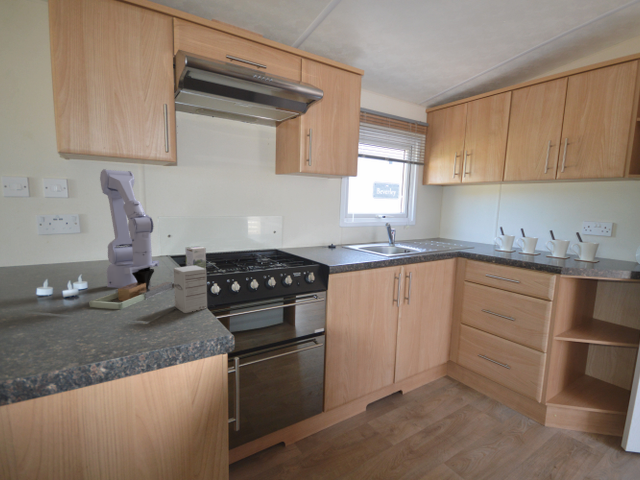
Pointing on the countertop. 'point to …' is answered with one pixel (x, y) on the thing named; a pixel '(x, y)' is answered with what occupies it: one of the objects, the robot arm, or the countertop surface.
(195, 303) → the supplement box
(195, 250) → the syrup box
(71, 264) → the countertop surface
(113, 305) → the tray
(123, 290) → the front copper block
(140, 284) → the rear copper block
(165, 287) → the aluminium slot
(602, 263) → the countertop surface
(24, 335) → the countertop surface
